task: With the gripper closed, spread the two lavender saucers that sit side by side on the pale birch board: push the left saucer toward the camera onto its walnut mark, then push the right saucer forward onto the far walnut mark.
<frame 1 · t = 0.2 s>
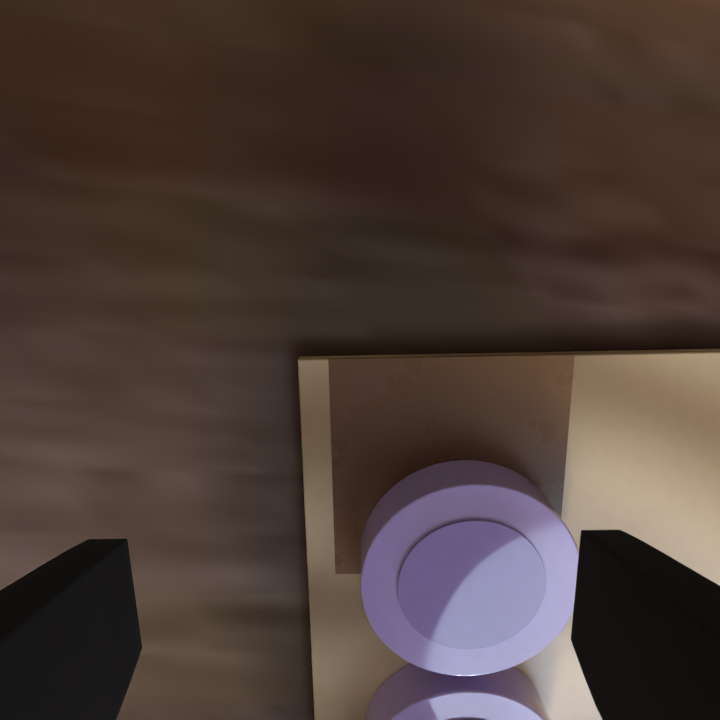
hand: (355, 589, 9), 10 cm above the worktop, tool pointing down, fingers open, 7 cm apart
board: (627, 606, 20), on the worktop
saucer b: (460, 552, 19), point 1 cm above the worktop, touching board
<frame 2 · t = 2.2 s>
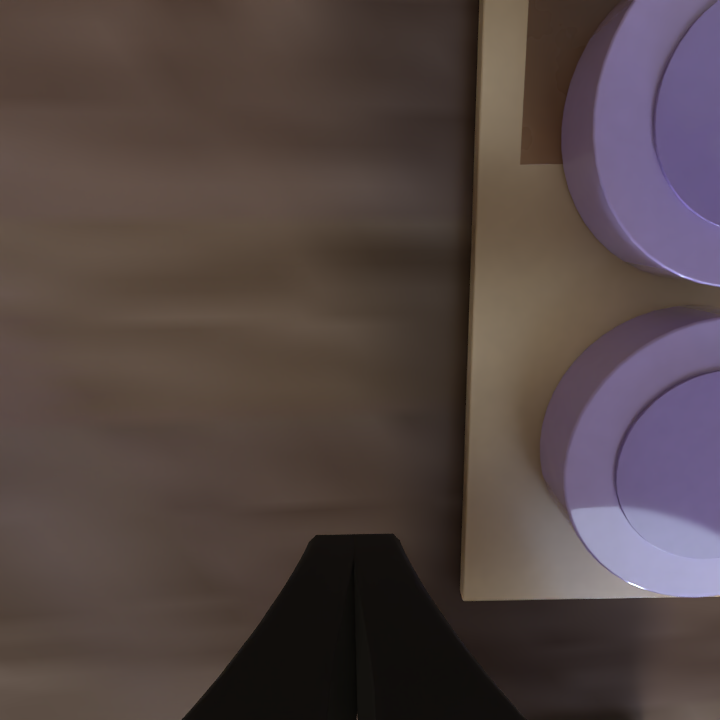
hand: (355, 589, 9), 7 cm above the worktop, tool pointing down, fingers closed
saucer a: (672, 437, 14), resting on board
saucer b: (714, 125, 13), point 1 cm above the worktop, touching board
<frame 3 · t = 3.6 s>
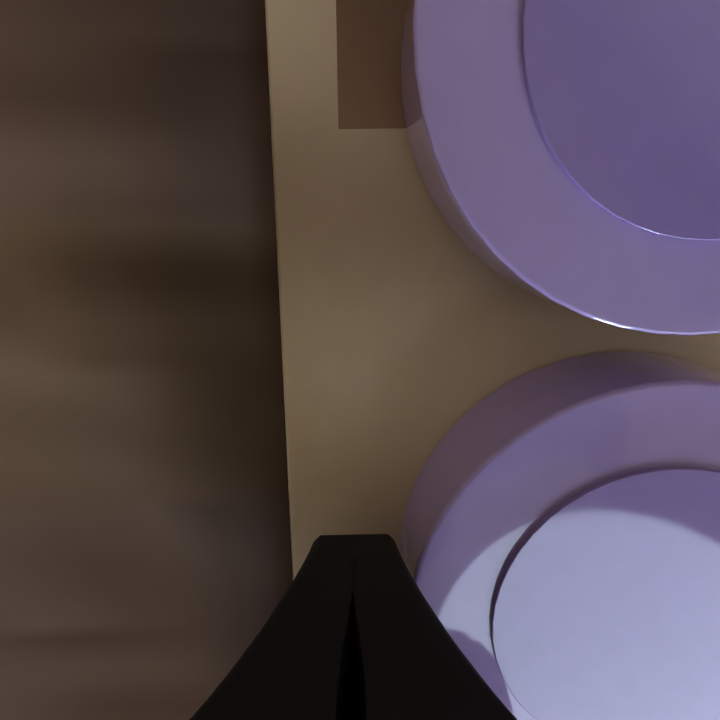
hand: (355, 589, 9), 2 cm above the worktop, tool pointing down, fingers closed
saucer a: (599, 545, 10), point 1 cm above the worktop, touching board, gripper
saucer b: (650, 65, 8), point 1 cm above the worktop, touching board
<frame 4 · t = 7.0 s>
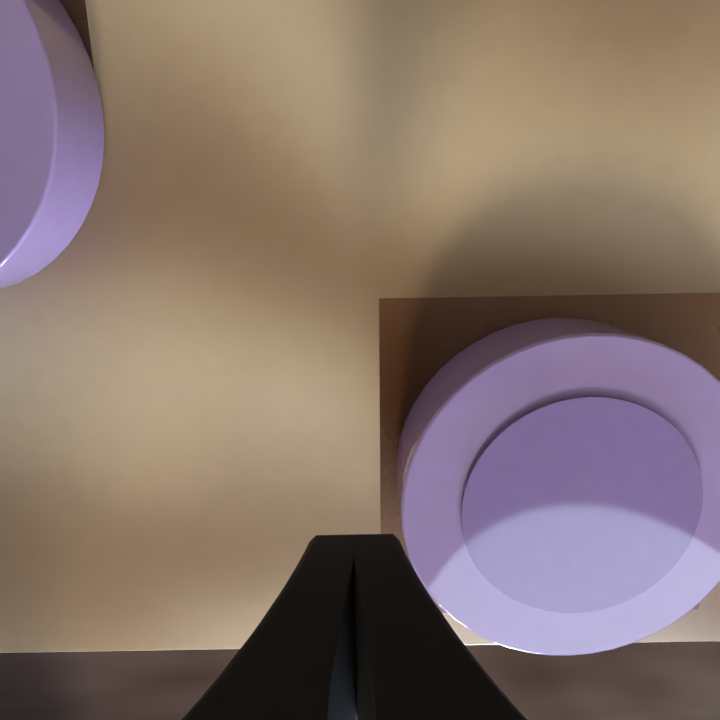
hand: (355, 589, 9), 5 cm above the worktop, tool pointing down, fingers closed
saucer a: (548, 468, 13), point 1 cm above the worktop, touching board
board: (263, 251, 12), on the worktop
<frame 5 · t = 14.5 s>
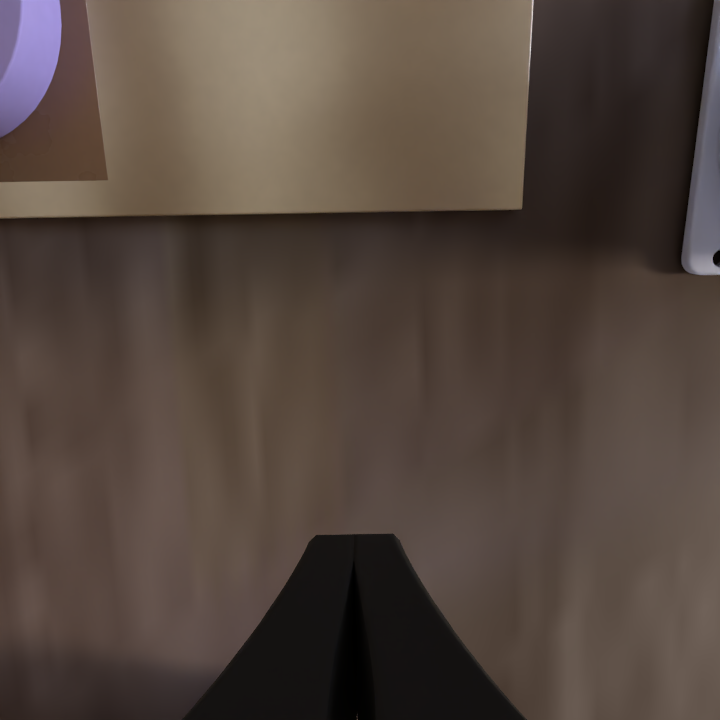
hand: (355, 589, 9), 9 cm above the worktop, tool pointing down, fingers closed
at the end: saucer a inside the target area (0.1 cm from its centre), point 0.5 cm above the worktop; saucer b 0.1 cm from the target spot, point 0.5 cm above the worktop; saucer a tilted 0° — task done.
